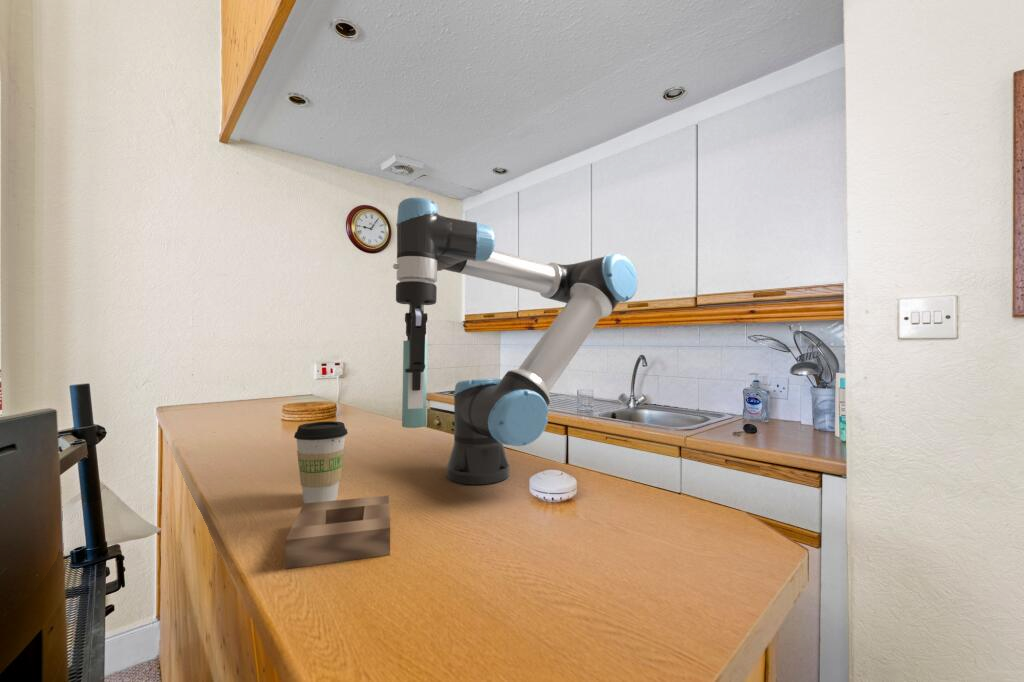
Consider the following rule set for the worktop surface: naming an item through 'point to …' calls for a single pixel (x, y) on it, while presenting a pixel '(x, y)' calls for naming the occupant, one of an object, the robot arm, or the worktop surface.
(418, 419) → the peg
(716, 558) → the worktop surface
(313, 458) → the coffee cup
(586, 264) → the robot arm
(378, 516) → the socket block
